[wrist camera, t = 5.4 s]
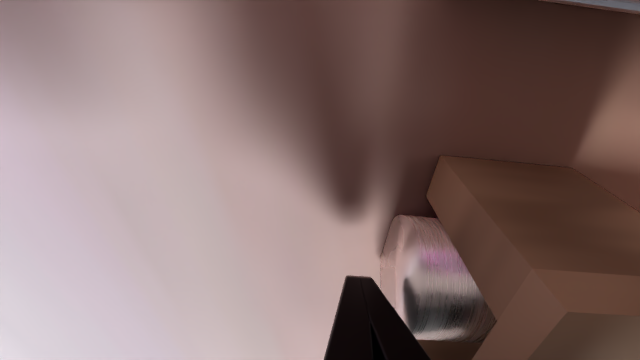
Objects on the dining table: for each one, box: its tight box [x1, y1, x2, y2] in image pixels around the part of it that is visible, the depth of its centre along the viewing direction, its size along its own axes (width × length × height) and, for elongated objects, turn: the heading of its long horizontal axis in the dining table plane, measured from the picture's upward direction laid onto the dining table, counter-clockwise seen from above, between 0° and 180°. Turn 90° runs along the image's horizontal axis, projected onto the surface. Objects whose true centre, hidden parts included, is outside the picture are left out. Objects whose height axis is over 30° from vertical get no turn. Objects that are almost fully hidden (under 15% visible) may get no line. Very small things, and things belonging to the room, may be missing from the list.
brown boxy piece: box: [417, 155, 640, 360], centre depth 8 cm, size 4×7×5 cm, turn 174°
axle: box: [380, 215, 497, 343], centre depth 9 cm, size 9×3×3 cm, turn 83°
